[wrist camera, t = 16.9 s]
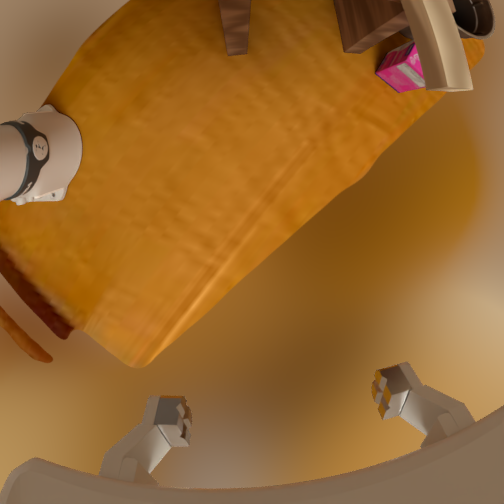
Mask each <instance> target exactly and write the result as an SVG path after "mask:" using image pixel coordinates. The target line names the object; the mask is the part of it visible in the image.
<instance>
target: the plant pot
mask: <svg viewBox="0 0 504 504" xmlns="http://www.w3.org/2000/svg"><path fill="white" fill-rule="evenodd" d="M453 3H454V6H455V10H456V12H454V13H452V14H453V17H454V20H455V23H456V26H457V29H458V32H459V35H460V38H476V39H487V38H489V37H490V36H492V34H493V33H494V30H495V17H494V13H493V9H492V6H491V4H490V1H489V0H453ZM399 32H400V33H401V34H402V35H404V36H405V37H407V38H410V39H411V40H414V38H413V35H412V32H411V29H410V26H407V27H405V28H403V29H401V30H400V31H399Z"/></svg>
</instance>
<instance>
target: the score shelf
mask: <svg viewBox="0 0 504 504" xmlns="http://www.w3.org/2000/svg"><path fill="white" fill-rule="evenodd" d="M218 1H219V7H220V13H221V18H222V24H223V30H224V36H225V41H226V47H227V53H228V56H232V55H241V54H247V47H248V33H249V20H250V6H251V0H218ZM447 2H448V4H449V7H450V9H451V12H452V13H454V12H456V10H455V6H454V3H453V0H447ZM334 5H335V9H336V14H337V18H338V23H339V28H340V33H341V39H342V44H343V50H344V52H345V53H358V54H361V53H362V52H364V51H365V50H367V49H369V48H370V47H372V46H374V45H375V44H377V43H379V42H380V41H382V40H384V39H386V38H387V37H389V36H391V35H392V34H394V33H396V32H398V31H400V30H401V29H403V28H405V27H407V26H409V23H408V20H407V17H406V14H405V11H404V8H403V6H402V3H401V1H400V0H334Z"/></svg>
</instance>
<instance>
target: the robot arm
mask: <svg viewBox="0 0 504 504" xmlns="http://www.w3.org/2000/svg"><path fill="white" fill-rule="evenodd" d="M81 156H82V140H81V136H80V132H79V130H78V128H77V126H76V124H75V123H74V122H73V121H72V120H71V119H70V118H69V117H68V116H66V115H63V114H60V113H58V112H57V111H56V110H55V108H54V107H53V106H52V105H50V104H47V105H44V106H43V107H41V108H40V109H39V110H37V111H36V112H30V113H24V114H23V116H22V117H20V118H19V119H18V120H17V121H16V120H15V121H9V122H5V123H2V124H0V201H1V200H10V199H11V200H12V201H13V202H16V204H17V205H22V204H25V203H26V202H31V201H60V200H62V199H64V197H65V194H66V191H67V187H68V184H69V183H70V181H71V180H72V178H73V177H74V176H75V174H76V172H77V170H78V168H79V165H80V161H81ZM54 193H55V196H54ZM374 377H375V380H374V381H373V383H372V387H371V389H372V396H373V399H374V401H375V402H376V403H378V404H379V407H378V411H379V413H380V415H381V417H382V420H384V419H388V418H392V417H395V416H399V415H400V417H402V418H403V419H404V420H406V421H407V422H408V423H410V424H411V425H413V426H414V427H415V428H417V429H418V430H420V431H421V432H423V433H424V434H425V435H427V436H426V438H425V439H424V441H423V442H422V444H421V449H419V450H416V451H414V452H411V453H409V454H406V455H403V456H401V457H398V458H395V459H392V460H389V461H386V462H383V463H380V464H377V465H374V466H370V467H367V468H363V469H359V470H356V471H352V472H348V473H344V474H340V475H335V476H331V477H326V478H321V479H316V480H311V481H304V482H298V483H291V484H283V485H275V486H265V487H252V488H231V489H201V488H179V487H167V486H158V484H159V483H158V482H157V481H156V480H155V479H154V478H153V477H152V476H151V475H150V473H151V471H152V470H153V469H154V468H155V467H156V465H157V464H158V463H159V462H160V460H161V459H162V458H163V457H164V455H165V454H166V453H167V452H168V451H169V449H170V448H171V447H172V446H173V447H189V445H190V437H191V434H190V432H189V428H190V427H191V426H192V413H191V410H190V408H189V406H187V405H186V402H187V400H186V399H185V396H159V395H150V397H149V398H148V401H147V405H146V409H145V413H144V416H143V420H142V424H138V425H137V426H136V427H135V428H133V429H132V430H131V431H130V432H129V433H128V434H127V435H125V436H124V437H123V438H122V439H121V440H120V441H119V442H117V443H116V444H115V445H114V446H113V447H112V448H111V449H109V450H108V451H107V452H106V453H105V455H104V459H103V462H102V466H101V469H100V472H99V476H98V475H93V474H90V473H86V472H81V471H78V470H75V469H71V468H68V467H65V466H61V465H58V464H55V463H52V462H49V461H46V460H44V459H41V458H32V459H30V460H28V461H27V462H25V463H23V464H22V465H20V466H18V467H17V468H15V469H14V470H13V471H12V472H11V473H10V475H9V476H8V478H7V480H6V482H5V484H4V487H3V489H2V491H1V493H0V504H504V405H503V406H502V407H500V408H499V409H497V410H495V411H494V412H492V413H491V414H489V415H487V416H486V417H484V418H482V419H480V420H479V421H477V422H475V420H474V419H473V417H472V415H471V414H470V412H469V411H468V409H467V407H466V406H465V404H464V403H462V402H460V401H458V400H455V399H453V398H451V397H449V396H447V395H445V394H443V393H441V392H439V391H437V390H435V389H433V388H431V387H429V386H427V385H424V386H423V385H422V383H421V382H420V380H419V378H418V377H417V375H416V374H415V372H414V370H413V369H412V367H411V366H410V364H409V363H408V362H404V363H400V364H397V365H392V366H389V367H386V368H382V369H378V370H376V371H375V374H374Z"/></svg>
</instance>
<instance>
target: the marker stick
mask: <svg viewBox="0 0 504 504" xmlns="http://www.w3.org/2000/svg"><path fill="white" fill-rule="evenodd" d="M400 1H401V3H402V6H403V8H404V11H405V14H406V17H407V20H408V23H409V26H410V29H411V32H412V35H413V38H414V42H415V45H416V49H417V52H418V56H419V60H420V64H421V68H422V72H423V76H424V81H425V86H426V90H435V91H450V92H452V91H464V90H473V86H472V81H471V76H470V72H469V67H468V63H467V59H466V55H465V52H464V48H463V45H462V41H461V38H460V35H459V32H458V29H457V26H456V23H455V20H454V17H453V14H452V12H451V9H450V7H449V4H448V2H447V0H400Z"/></svg>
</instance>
